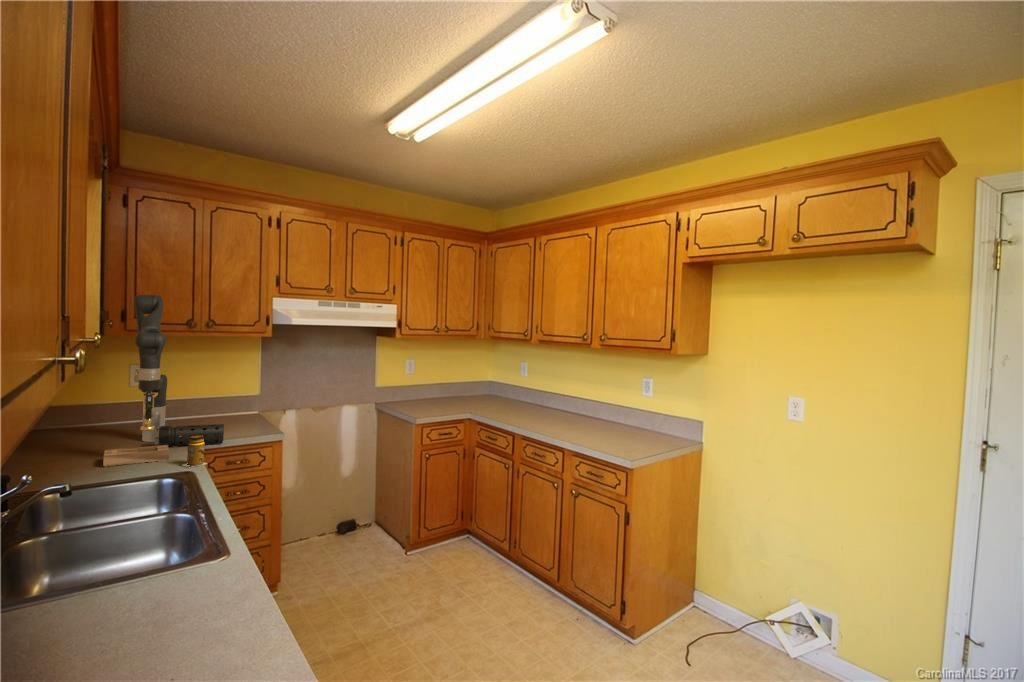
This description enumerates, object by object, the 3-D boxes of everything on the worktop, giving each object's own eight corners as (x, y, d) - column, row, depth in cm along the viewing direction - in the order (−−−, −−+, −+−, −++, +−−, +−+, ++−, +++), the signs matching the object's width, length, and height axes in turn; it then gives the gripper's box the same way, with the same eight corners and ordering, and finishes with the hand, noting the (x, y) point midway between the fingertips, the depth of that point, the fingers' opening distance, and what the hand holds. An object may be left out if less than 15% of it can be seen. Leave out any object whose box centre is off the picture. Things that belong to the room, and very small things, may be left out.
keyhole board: (104, 460, 210) (104, 450, 209) (167, 454, 223) (167, 444, 223) (103, 467, 200) (103, 456, 200) (168, 460, 214) (169, 450, 214)
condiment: (208, 463, 212) (209, 436, 212) (187, 468, 204) (188, 439, 204) (198, 461, 215) (199, 434, 215) (177, 465, 208) (178, 437, 208)
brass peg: (140, 429, 214) (141, 397, 214) (154, 428, 217) (155, 396, 217) (140, 431, 210) (141, 398, 210) (155, 430, 213) (156, 398, 213)
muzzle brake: (222, 445, 244) (223, 425, 244) (153, 450, 230) (154, 428, 230) (223, 441, 252) (224, 421, 252) (156, 445, 238) (157, 424, 238)
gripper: (138, 377, 216) (137, 416, 217) (139, 380, 205) (137, 421, 206) (159, 376, 221) (158, 414, 221) (161, 380, 210) (159, 420, 210)
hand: (148, 417), depth 213 cm, fingers closed on brass peg, 3 cm apart
